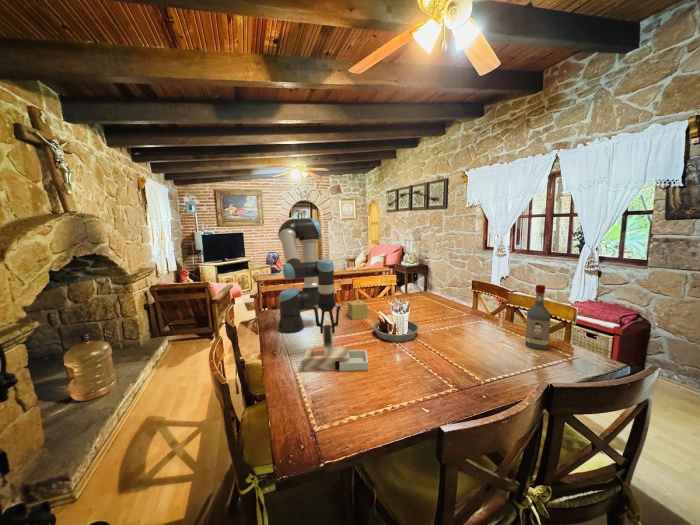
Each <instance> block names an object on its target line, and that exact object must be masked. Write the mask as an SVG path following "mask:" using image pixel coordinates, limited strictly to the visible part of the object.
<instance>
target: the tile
mask: <svg viewBox="0 0 700 525" xmlns="http://www.w3.org/2000/svg"><path fill="white" fill-rule="evenodd" d="M312 348H313V351H312V352H313V356H323V355H325V346H323V345H317V346H313V347H312Z"/></svg>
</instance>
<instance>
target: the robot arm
mask: <svg viewBox="0 0 700 525" xmlns="http://www.w3.org/2000/svg"><path fill="white" fill-rule="evenodd" d="M319 222H320V221H318V219H317V218H309V217H308V218H290V219H288V220H286V221H284V222H283V223H282V224H281V225H280V227H279V229H278V233H277V234H278V239H279V241H280V242H281V244H282V245H281V246H282V251H283V255H284V260H285V263H284V264H283V265H282V274H283V278H284V279H285V280H295V279H303V280H304V284H303V285H302V287H301V288H302V290H300V289H299V288H298V287H291V288H287V289H284V290H282V291H280V293H279V296H278V297H279V298H278V299H279V300H278V301H279V317H280V318H279V321H278V324H277V331H278V332H280V333H283V334H293V333H298V332H300V331H302V330H304V329H305V323H304V320H303V317H302V315H301V311H307V310H313V311H314V318H315V325H316V327H319V328H320V335H321V334H322V341H323V342H324V341H325V338H324V320H325V314H326V313H327V312H328V315H329V317H330V323H331V324H330V325H331V328H330V329H331V341H332V340H333V339H334V338H333V334H335V331H336V330H335V329H336V327H338V326H339V318H340V310H341V304H336V301H335V272H334V270H335V266H334V261H333V260H332V259H327V258H326V259H319V260H318V252H317V250H318V249H317V243H318V241H319V238H321V237H322V230H321V229H322V228H321V225H320V223H319ZM296 239H297V240H298V241H299V243H300V244H301V249H302V250H301V251H302V253H301V254H302V260H301V256H300V252H299V249H298V245H297V240H296ZM334 308H335V309H336V312H335V320H334V314H333V310H334ZM319 309H320V311H321V315H320V316H321V317H319V311H318V310H319ZM319 318H320V319H319ZM333 341H334V340H333Z"/></svg>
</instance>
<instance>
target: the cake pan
mask: <svg viewBox="0 0 700 525" xmlns="http://www.w3.org/2000/svg"><path fill="white" fill-rule="evenodd" d="M407 321H408V332H407V334H402V335H393V334H388V333H386V332H382V331H380V330H379V331H378V330H377V328H378V322H379V321H378V322H376V323H374V324H373V326H372V327H373V328H372V329H373V330H374V331H375V333H376V336H377V337H378V338H379V339H380V340H381V339H382V340H385V341H389V342H396V343H397V342H398V343H399V342H407V341H411V340H412V339H415V338H416V334H417V332H418V331H419V328H420V326H419V325H418V324H417V323H415V322H412V321H409V320H407Z"/></svg>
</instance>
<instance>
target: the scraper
mask: <svg viewBox="0 0 700 525" xmlns="http://www.w3.org/2000/svg"><path fill="white" fill-rule="evenodd" d="M323 326H324V338H325V341H323V345H322V346H325V348H334V344H333V343H334V340H332V341H331V329H330V328H331V326H332V324H323Z"/></svg>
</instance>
